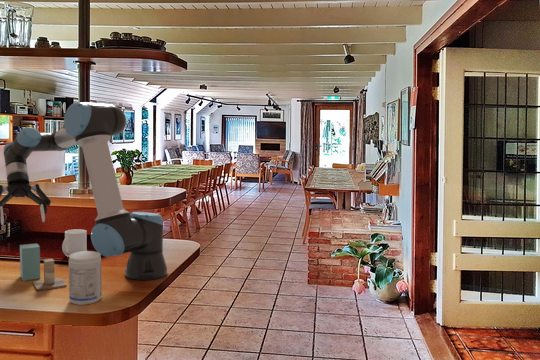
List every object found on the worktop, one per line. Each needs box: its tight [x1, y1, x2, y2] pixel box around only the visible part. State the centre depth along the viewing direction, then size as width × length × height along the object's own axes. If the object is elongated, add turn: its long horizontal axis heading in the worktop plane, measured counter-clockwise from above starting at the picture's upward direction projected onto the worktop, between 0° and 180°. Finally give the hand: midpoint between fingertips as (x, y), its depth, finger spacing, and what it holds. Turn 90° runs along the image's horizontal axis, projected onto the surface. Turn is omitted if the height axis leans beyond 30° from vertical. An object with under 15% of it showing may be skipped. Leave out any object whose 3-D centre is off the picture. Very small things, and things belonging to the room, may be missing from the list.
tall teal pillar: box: [19, 243, 41, 281], centre depth 166 cm, size 6×6×11 cm
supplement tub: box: [68, 250, 103, 306], centre depth 146 cm, size 10×10×15 cm
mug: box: [61, 228, 88, 258], centre depth 193 cm, size 12×8×10 cm
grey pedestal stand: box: [32, 258, 67, 292], centre depth 159 cm, size 9×9×9 cm
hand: (23, 221), depth 173 cm, fingers open, 13 cm apart
